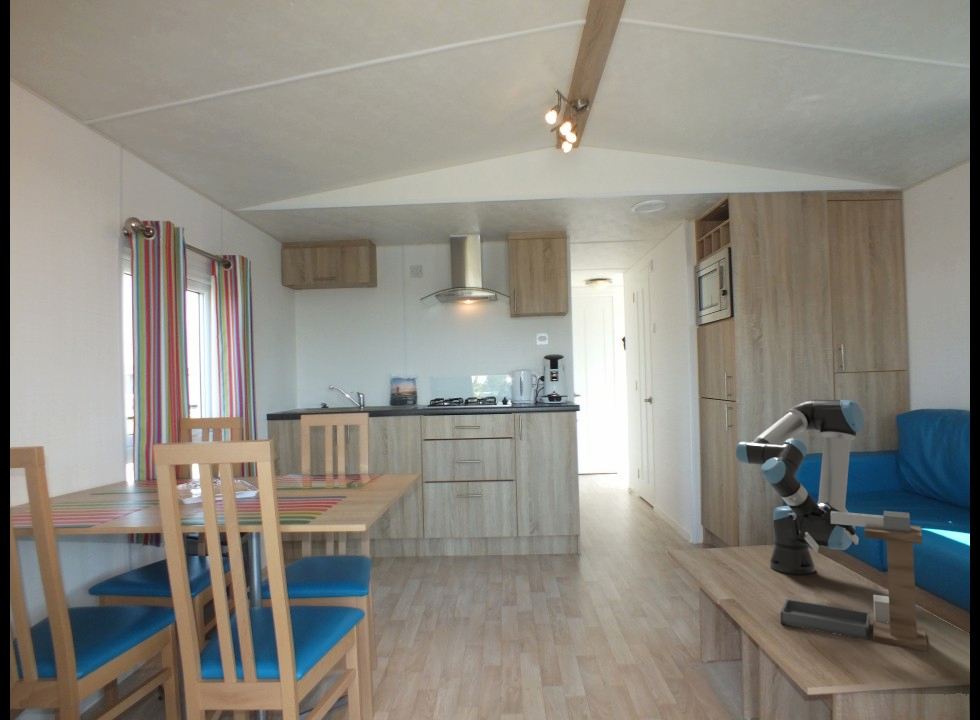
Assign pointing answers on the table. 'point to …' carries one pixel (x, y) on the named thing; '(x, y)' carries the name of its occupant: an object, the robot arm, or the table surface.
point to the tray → (826, 618)
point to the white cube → (881, 608)
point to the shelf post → (900, 590)
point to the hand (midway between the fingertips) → (836, 545)
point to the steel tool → (874, 520)
